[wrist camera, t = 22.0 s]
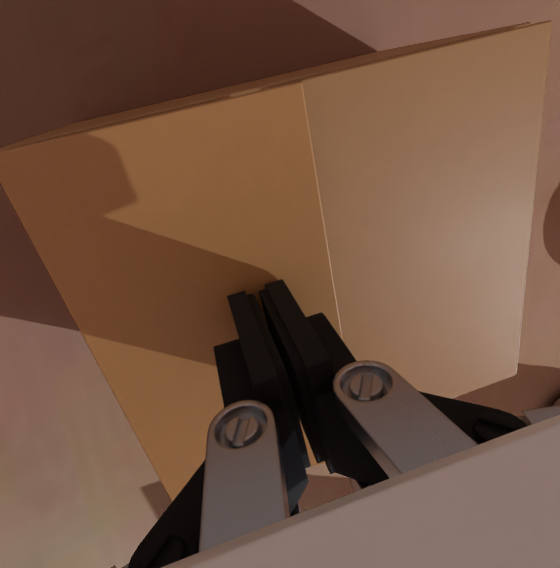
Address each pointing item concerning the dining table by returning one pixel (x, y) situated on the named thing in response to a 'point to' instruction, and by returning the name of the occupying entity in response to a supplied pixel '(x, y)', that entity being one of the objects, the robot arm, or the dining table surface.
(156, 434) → the flap
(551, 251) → the dining table surface
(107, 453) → the dining table surface
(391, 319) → the carton
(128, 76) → the dining table surface
